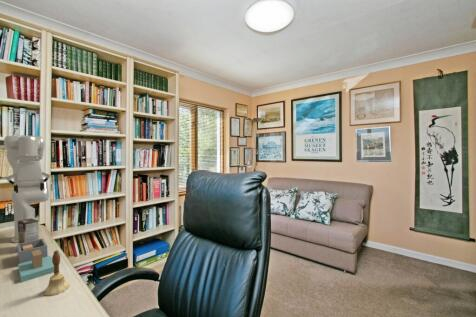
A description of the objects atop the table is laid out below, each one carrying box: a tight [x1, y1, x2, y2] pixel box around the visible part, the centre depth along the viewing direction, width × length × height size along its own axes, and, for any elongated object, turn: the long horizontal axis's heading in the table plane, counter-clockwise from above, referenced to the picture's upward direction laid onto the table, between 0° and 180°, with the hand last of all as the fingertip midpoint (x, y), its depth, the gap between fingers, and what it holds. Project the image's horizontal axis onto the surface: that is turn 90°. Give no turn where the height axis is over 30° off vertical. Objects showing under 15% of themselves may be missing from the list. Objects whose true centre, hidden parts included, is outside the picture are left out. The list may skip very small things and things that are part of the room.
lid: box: [17, 249, 54, 283], centre depth 105 cm, size 15×12×8 cm
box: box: [16, 238, 49, 264], centre depth 117 cm, size 14×10×7 cm
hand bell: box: [42, 249, 70, 297], centre depth 91 cm, size 8×8×16 cm
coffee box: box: [18, 218, 40, 244], centre depth 129 cm, size 9×6×16 cm
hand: (29, 191), depth 120 cm, fingers open, 9 cm apart
